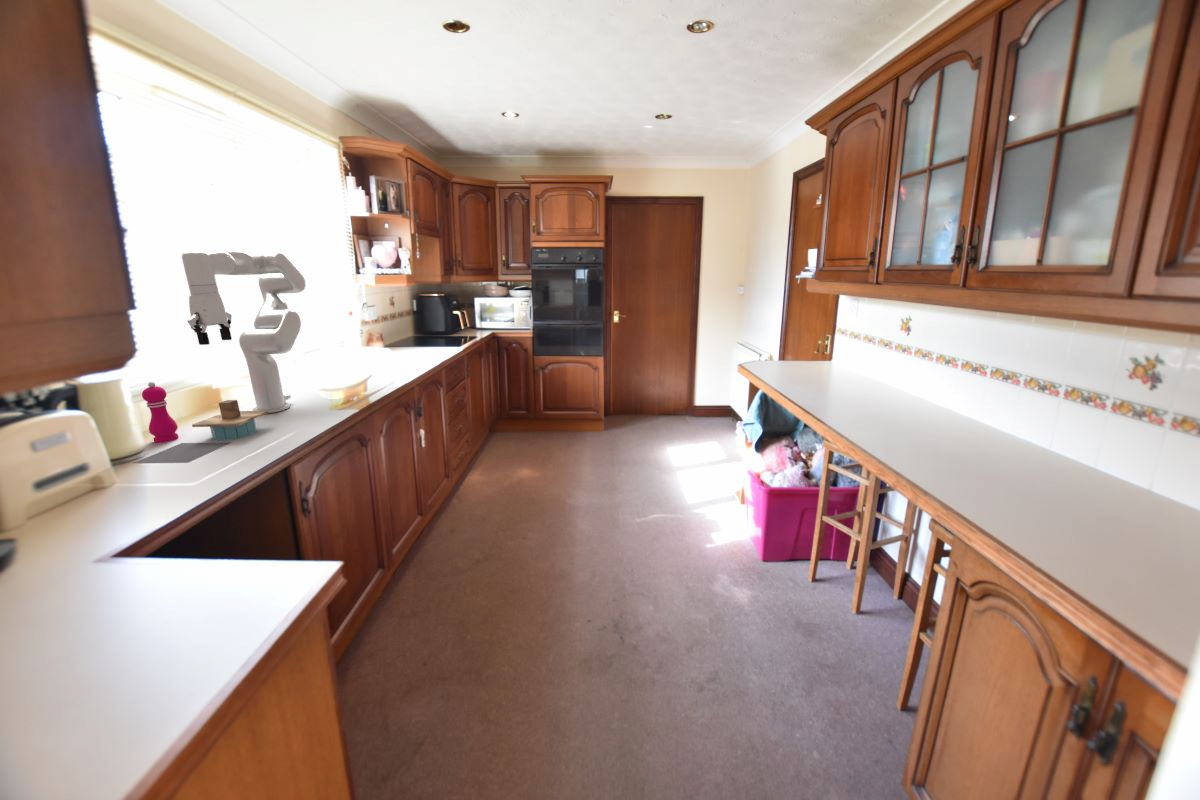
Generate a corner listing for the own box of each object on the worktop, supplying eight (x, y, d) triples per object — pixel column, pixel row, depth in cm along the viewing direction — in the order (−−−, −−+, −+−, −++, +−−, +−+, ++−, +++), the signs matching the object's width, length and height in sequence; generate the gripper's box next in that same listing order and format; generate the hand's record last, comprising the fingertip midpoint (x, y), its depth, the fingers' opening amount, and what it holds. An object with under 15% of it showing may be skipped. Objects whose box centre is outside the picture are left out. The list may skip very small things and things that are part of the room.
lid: (227, 413, 181) (223, 396, 179) (268, 412, 180) (265, 395, 178) (192, 426, 166) (187, 408, 165) (236, 426, 165) (232, 407, 163)
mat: (182, 444, 167) (181, 442, 167) (232, 443, 166) (231, 442, 166) (133, 464, 150) (132, 463, 150) (188, 464, 149) (187, 462, 149)
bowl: (232, 429, 180) (228, 414, 179) (264, 429, 180) (261, 414, 178) (204, 441, 169) (200, 425, 167) (239, 441, 168) (235, 425, 167)
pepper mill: (156, 446, 166) (139, 385, 161) (149, 442, 170) (133, 383, 165) (183, 439, 171) (168, 381, 166) (176, 436, 176) (161, 378, 170)
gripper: (213, 289, 180) (224, 338, 184) (170, 292, 163) (184, 346, 167) (234, 288, 179) (245, 338, 184) (193, 292, 162) (206, 346, 167)
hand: (216, 342), depth 175 cm, fingers open, 9 cm apart
